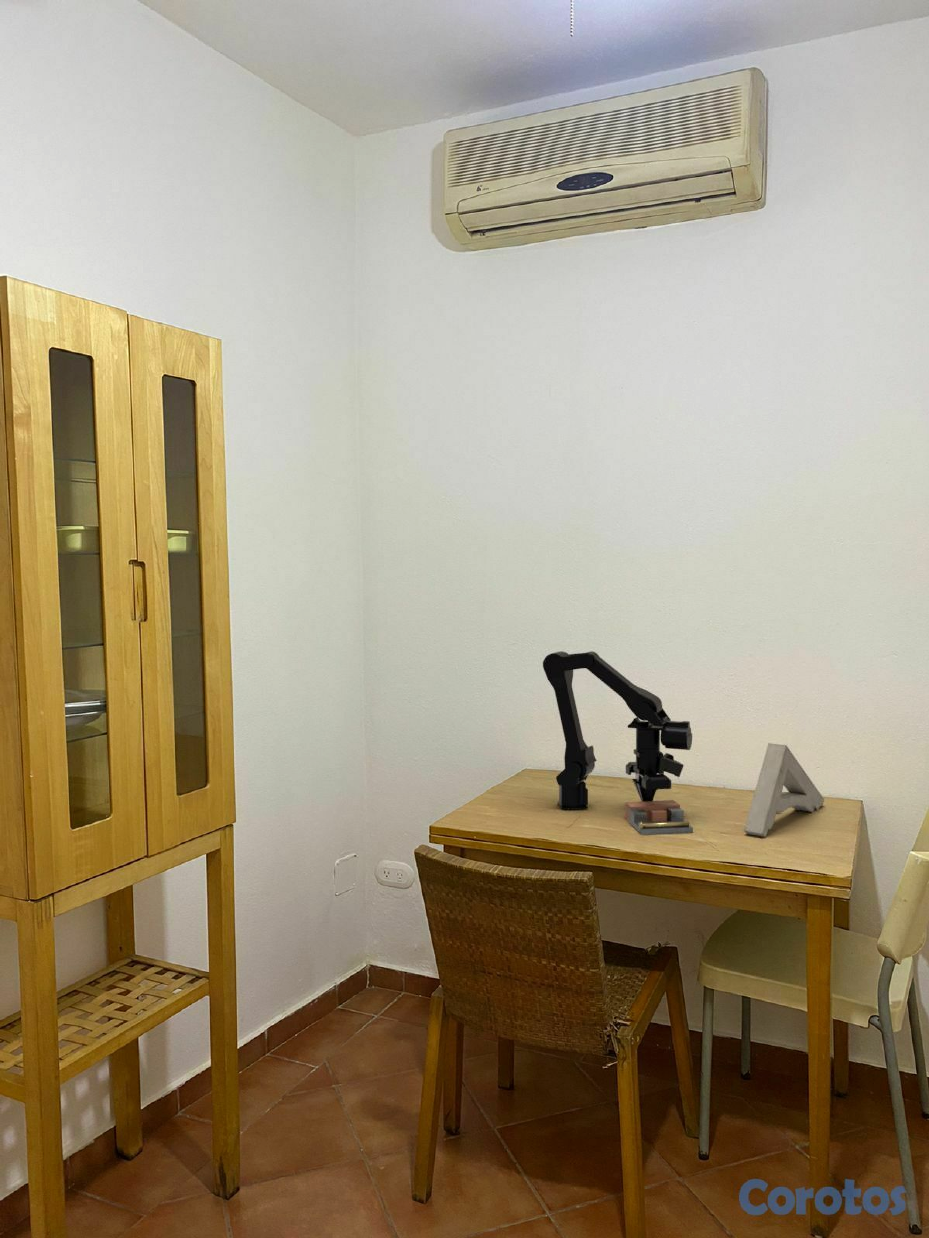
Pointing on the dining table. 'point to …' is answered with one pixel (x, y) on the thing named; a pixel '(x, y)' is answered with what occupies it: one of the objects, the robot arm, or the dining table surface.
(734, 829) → the dining table surface
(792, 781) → the grey letter a
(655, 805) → the pink tabbed slab
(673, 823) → the hinge pin
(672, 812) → the fixed leaf
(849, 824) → the dining table surface
